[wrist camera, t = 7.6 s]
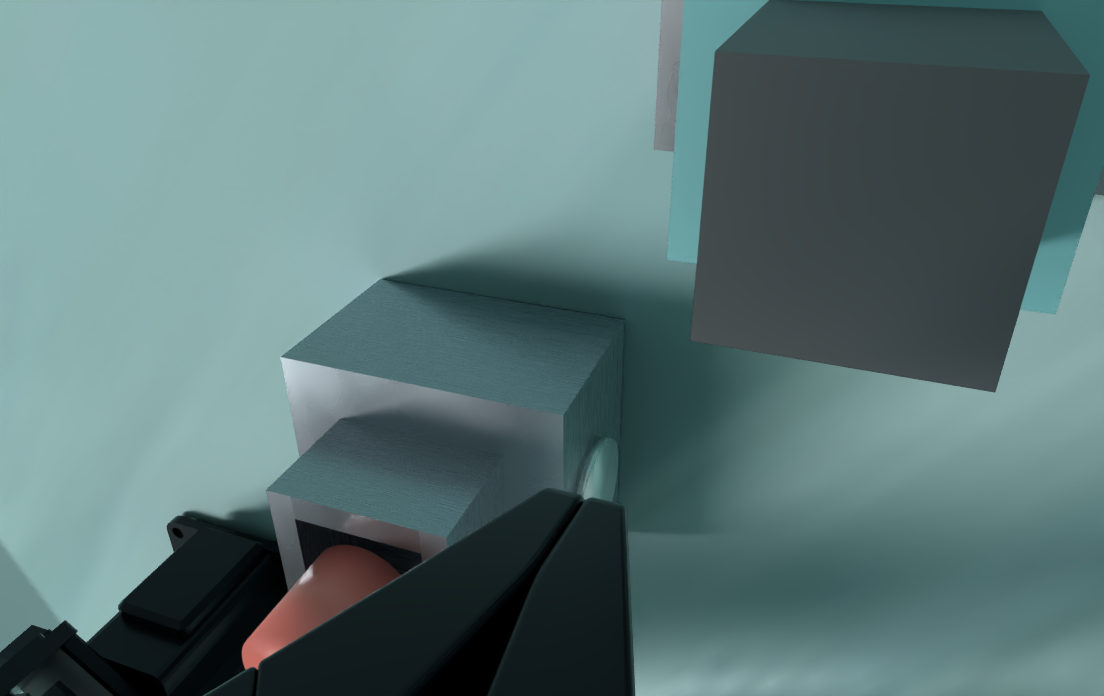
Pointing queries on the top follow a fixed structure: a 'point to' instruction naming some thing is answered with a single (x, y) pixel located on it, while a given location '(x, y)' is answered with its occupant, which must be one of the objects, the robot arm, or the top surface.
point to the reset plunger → (318, 598)
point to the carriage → (884, 175)
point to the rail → (670, 79)
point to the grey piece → (441, 420)
